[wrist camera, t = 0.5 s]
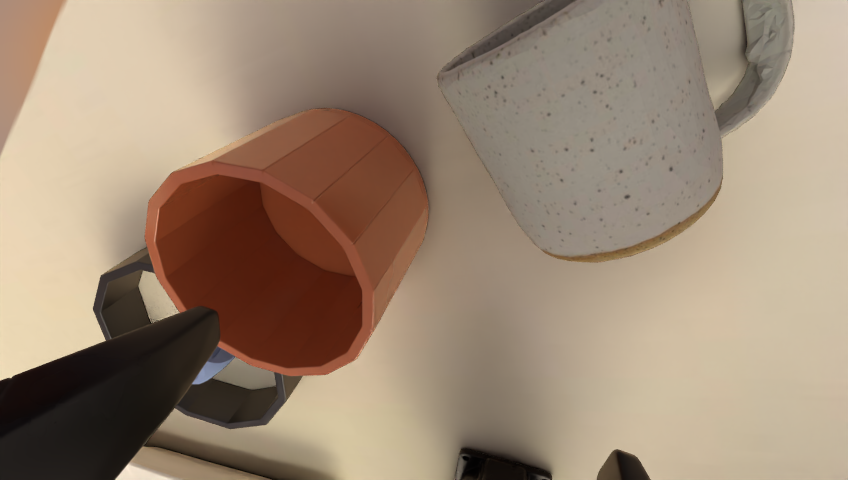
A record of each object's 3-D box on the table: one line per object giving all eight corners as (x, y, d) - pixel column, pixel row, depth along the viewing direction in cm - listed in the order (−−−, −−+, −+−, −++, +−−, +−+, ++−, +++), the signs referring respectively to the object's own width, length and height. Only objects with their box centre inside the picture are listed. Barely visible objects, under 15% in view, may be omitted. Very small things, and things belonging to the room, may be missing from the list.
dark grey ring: (313, 413, 35) (292, 449, 32) (160, 368, 38) (129, 397, 35) (299, 263, 27) (270, 294, 25) (109, 221, 30) (65, 244, 28)
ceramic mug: (537, 212, 22) (529, 310, 15) (455, 54, 19) (404, 89, 13) (800, 106, 17) (953, 182, 10) (738, -123, 14) (890, -212, 8)
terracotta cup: (422, 292, 26) (373, 400, 19) (269, 258, 28) (176, 345, 21) (436, 122, 21) (375, 190, 14) (246, 95, 23) (114, 143, 16)
